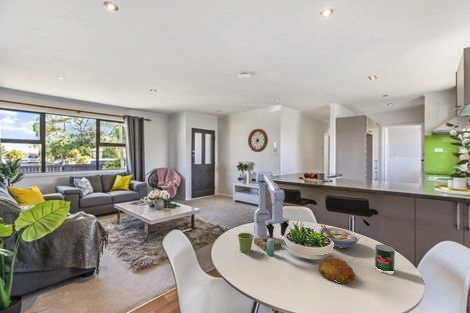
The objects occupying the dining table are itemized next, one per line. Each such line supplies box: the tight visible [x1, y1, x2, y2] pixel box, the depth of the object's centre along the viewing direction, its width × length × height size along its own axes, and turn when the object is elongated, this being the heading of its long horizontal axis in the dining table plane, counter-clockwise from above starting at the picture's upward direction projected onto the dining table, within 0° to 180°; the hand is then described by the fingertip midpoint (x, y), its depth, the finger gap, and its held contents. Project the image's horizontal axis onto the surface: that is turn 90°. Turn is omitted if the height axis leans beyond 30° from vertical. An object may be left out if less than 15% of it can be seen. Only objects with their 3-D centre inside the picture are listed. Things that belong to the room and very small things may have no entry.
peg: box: [266, 239, 275, 257], centre depth 125 cm, size 4×4×8 cm
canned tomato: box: [374, 244, 396, 272], centre depth 110 cm, size 8×8×11 cm
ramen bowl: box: [318, 224, 361, 248], centre depth 139 cm, size 25×23×8 cm
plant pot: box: [237, 232, 255, 254], centre depth 130 cm, size 9×9×9 cm
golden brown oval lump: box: [318, 257, 356, 284], centre depth 105 cm, size 14×16×8 cm
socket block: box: [253, 235, 282, 252], centre depth 137 cm, size 12×12×3 cm
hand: (276, 236), depth 126 cm, fingers open, 7 cm apart
